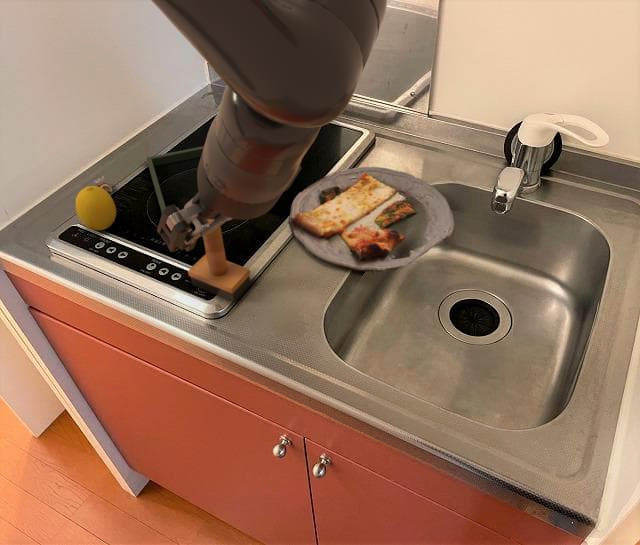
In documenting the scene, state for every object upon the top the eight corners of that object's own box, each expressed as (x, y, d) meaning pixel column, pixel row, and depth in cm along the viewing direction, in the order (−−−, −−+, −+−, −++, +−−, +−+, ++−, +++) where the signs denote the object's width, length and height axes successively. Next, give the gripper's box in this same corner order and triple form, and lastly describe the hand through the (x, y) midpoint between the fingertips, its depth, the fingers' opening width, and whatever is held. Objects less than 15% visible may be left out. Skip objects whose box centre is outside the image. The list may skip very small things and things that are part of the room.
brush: (192, 289, 79) (176, 224, 71) (210, 271, 82) (197, 206, 74) (234, 307, 77) (223, 241, 69) (252, 287, 79) (243, 222, 71)
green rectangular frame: (264, 211, 92) (263, 199, 90) (167, 234, 88) (164, 221, 86) (234, 151, 105) (233, 140, 104) (149, 169, 102) (146, 157, 100)
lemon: (129, 225, 90) (115, 183, 84) (102, 245, 86) (86, 202, 81) (104, 214, 92) (90, 172, 86) (77, 233, 89) (60, 190, 83)
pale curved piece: (107, 190, 97) (101, 170, 94) (116, 195, 96) (109, 174, 93) (93, 198, 95) (86, 178, 92) (101, 203, 94) (94, 183, 91)
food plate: (364, 303, 77) (365, 284, 74) (259, 224, 90) (257, 205, 87) (478, 224, 89) (483, 206, 86) (371, 164, 101) (372, 147, 99)
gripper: (293, 89, 50) (254, 167, 64) (146, 156, 44) (140, 225, 59) (341, 160, 49) (290, 222, 64) (199, 238, 44) (180, 286, 58)
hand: (219, 223), depth 61 cm, fingers open, 8 cm apart
